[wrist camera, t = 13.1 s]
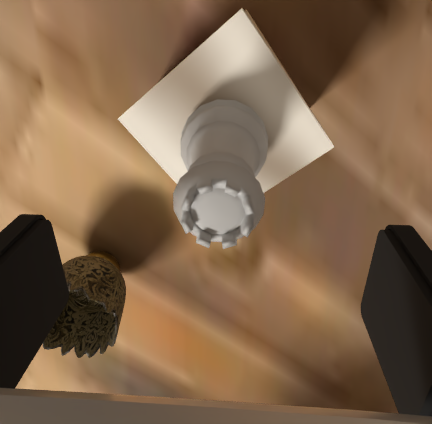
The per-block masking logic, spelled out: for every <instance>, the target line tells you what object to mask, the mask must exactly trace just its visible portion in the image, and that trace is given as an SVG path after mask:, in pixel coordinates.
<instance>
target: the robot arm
mask: <svg viewBox="0 0 432 424" xmlns="http://www.w3.org/2000/svg"><path fill="white" fill-rule="evenodd" d="M68 299H69V289H68V285H67V281H66V278H65V274H64V270H63V266H62V262H61V258H60V255H59V251H58V247H57V243H56V239H55V235H54V232H53V228H52V224H51V222H50V221H49V220H46V219H45V217H44V216H43V215H30V214H21V215H19V216H18V217H17V218H16V219H15V220H13V221H12V222H11V223H10V224H9V225H8V226H7V227H6V228H5V229H3V230H2V231H1V232H0V424H432V251H431V250H430V248H429V247H428V246H427V244H426V243H425V242H424V241H423V239H422V238H421V237H420V235H419V234H418V233H417V232H416V230H415V229H414V228H413V227H412V226H410V225H388V226H387V227H386V228H385V230H380V231H379V233H378V236H377V240H376V244H375V248H374V253H373V257H372V261H371V265H370V269H369V273H368V277H367V281H366V286H365V290H364V294H363V298H362V302H361V315H362V318H363V321H364V323H365V326H366V329H367V331H368V334H369V336H370V339H371V342H372V344H373V347H374V349H375V352H376V355H377V357H378V360H379V363H380V365H381V368H382V370H383V373H384V376H385V378H386V381H387V383H388V386H389V389H390V391H391V394H392V397H393V399H394V402H395V404H396V407H397V410H398V412H399V414H397V413H385V412H373V411H361V410H349V409H334V408H320V407H305V406H290V405H275V404H260V403H246V402H230V401H215V400H199V399H183V398H167V397H150V396H134V395H118V394H101V393H83V392H66V391H48V390H30V389H15V387H16V386H17V384H18V382H19V381H20V379H21V378H22V376H23V374H24V373H25V371H26V369H27V368H28V366H29V365H30V363H31V361H32V360H33V358H34V356H35V355H36V353H37V352H38V350H39V348H40V347H41V345H42V343H43V342H44V340H45V339H46V337H47V335H48V334H49V332H50V330H51V329H52V327H53V325H54V324H55V322H56V321H57V319H58V317H59V316H60V314H61V312H62V311H63V309H64V308H65V306H66V304H67V302H68Z"/></svg>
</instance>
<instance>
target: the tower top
mask: <svg viewBox="0 0 432 424" xmlns="http://www.w3.org/2000/svg"><path fill="white" fill-rule="evenodd" d="M217 99H220V100H236V101H238V102H240V103H242V104H244V105H246V106H248V107H251V108H252V109H253V110H254V111H255V112H256V114H257V115H258V116H259V117H260V118H261V119H262V121H263V122H264V125H265V129H266V132H267V135H268V149H267V158H266V161H265V163H264V165H263V167H262V168H261V170H260V172H259V174H258V175H257V176H256V177H255V178H256V179H257V180H258V181H259V182H260V185H261V188H262V191H263V193H264V192H266V191H267V190H269V189H270V188H272V187H273V186H275V185H277V184H278V183H280V182H281V181H283V180H284V179H286V178H287V177H289V176H290V175H292V174H294V173H295V172H297V171H298V170H300V169H301V168H303V167H304V166H306V165H307V164H309V163H310V162H312V161H314V160H315V159H317V158H318V157H320V156H321V155H323V154H324V153H326V152H327V151H329V150H330V149H332V148H334V145H333V144H332V142H331V141H330V139H329V138H328V136H327V134H326V133H325V131H324V130H323V128H322V126H321V125H320V123H319V122H318V120H317V119H316V117H315V116H314V114H313V113H312V111H311V110H310V108H309V107H308V105H307V104H306V102H305V101H304V99H303V98H302V96H301V95H300V93H299V92H298V90H297V89H296V87H295V86H294V84H293V83H292V81H291V80H290V78H289V77H288V75H287V74H286V72H285V71H284V69H283V68H282V66H281V65H280V63H279V62H278V60H277V59H276V57H275V56H274V54H273V53H272V51H271V50H270V48H269V47H268V45H267V44H266V42H265V41H264V39H263V38H262V36H261V35H260V33H259V32H258V30H257V29H256V27H255V26H254V24H253V23H252V21H251V20H250V18H249V17H248V15H247V14H246V12H245V11H244V9H243V8H241V9H240V10H239V11H238V12H237V13H236V14H235V15H234V16H232V17H231V18H230V19H229V20H228V21H227V22H226V23H225V24H223V25H222V26H221V27H220V28H219V29H218V30H217V31H216V32H214V33H213V34H212V35H211V36H210V37H209V38H208V39H207V40H205V41H204V42H203V43H202V44H201V45H200V46H199V47H198V48H196V49H195V50H194V51H193V52H192V53H191V54H190V55H189V56H188V57H186V58H185V59H184V60H183V61H182V62H181V63H180V64H179V65H177V66H176V67H175V68H174V69H173V70H172V71H171V72H170V73H168V74H167V75H166V76H165V77H164V78H163V79H162V80H161V81H159V82H158V83H157V84H156V85H155V86H154V87H153V88H152V89H150V90H149V91H148V92H147V93H146V94H145V95H144V96H143V97H141V98H140V99H139V100H138V101H137V102H136V103H135V104H134V105H133V106H131V107H130V108H129V109H128V110H127V111H126V112H125V113H124V114H123V115H121V116H120V117H119V118H118V120H119V121H120V122H121V123H122V124H123V125H124V127H125V128H126V129H127V130H128V131H129V132H130V133H131V134H132V135H133V136H134V137H135V139H136V140H137V141H138V142H139V143H140V144H141V145H142V146H143V147H144V148H145V150H146V151H147V152H148V153H149V154H150V155H151V156H152V157H153V158H154V159H155V161H156V162H157V163H158V164H159V165H160V166H161V167H162V168H163V169H164V170H165V172H166V173H167V174H168V175H169V176H170V177H171V178H172V179H173V180H174V181H175V182H176V184H178V182H179V179H180V178H181V177H182V176H183V175H184V174H185V173H187V172H188V171H187V169H186V166H185V164H184V162H183V160H182V157H181V137H182V131H183V128H184V126H185V124H186V121H187V119H188V117H189V116H190V115H191V114H192V113H193V112H194V111H195V110H197V109H198V108H199V107H200V106H201V105H204V104H206V103H209V102H212V101H214V100H217Z"/></svg>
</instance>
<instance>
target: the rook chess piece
mask: <svg viewBox="0 0 432 424" xmlns="http://www.w3.org/2000/svg"><path fill="white" fill-rule="evenodd" d="M267 149H268V135H267V132H266V129H265V125H264V122H263V121H262V119H261V118H260V117H259V116H258V115H257V114H256V112H255V111H254V110H253V109H252V108H251V107H248V106H246V105H244V104H242V103H240V102H238V101H236V100H220V99H217V100H214V101H212V102H209V103H206V104H204V105H201V106H200V107H199V108H198V109H197V110H195V111H194V112H193V113H192V114H191V115H190V116H189V117H188V119H187V121H186V124H185V126H184V128H183V131H182V137H181V157H182V160H183V162H184V164H185V166H186V169H187V171H188V172H187V173H185V174H184V175H183V176H182V177H181V178H180V179H179V182H178V184H177V186H176V188H175V191H174V193H173V205H174V211H175V213H176V215H177V217H178V219H179V222H180V224H181V225H182V227H183V229H184V231H185V233H188V232H190V233H191V234H192V235H194V236H197V240H196V243H198V244H200V245H203V246H205V247H208V248H209V246H210V243H211V241H213V242H222V246H223V249H225V248H228V247H232V246H235V245H237V239H239V238H242V237H243V236H246V237H248V236H249V234H250V232H251V231H252V230H253V229H254V228H255V227H256V226H257V224H258V222H259V221H260V219H261V217H262V216H263V213H264V204H265V197H264V194H263V191H262V188H261V185H260V182H259V181H258V180H257V179H256V178H255V177H256V176H257V175H258V174H259V172H260V170H261V168H262V167H263V165H264V163H265V161H266V158H267Z"/></svg>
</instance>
